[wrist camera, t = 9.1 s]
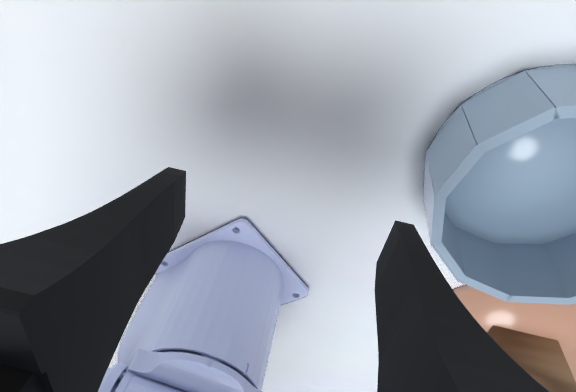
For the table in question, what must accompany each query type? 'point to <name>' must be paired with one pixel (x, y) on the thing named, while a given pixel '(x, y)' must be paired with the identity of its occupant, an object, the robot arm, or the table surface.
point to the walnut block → (537, 358)
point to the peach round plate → (525, 318)
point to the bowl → (509, 188)
